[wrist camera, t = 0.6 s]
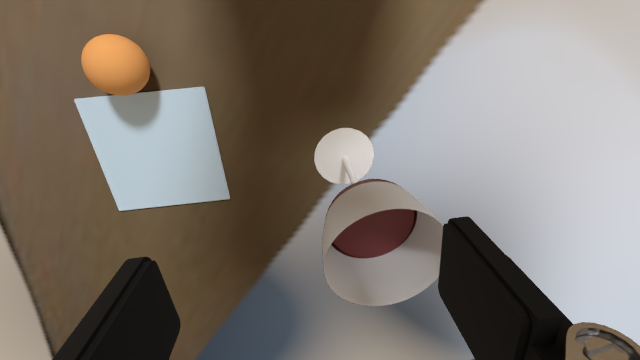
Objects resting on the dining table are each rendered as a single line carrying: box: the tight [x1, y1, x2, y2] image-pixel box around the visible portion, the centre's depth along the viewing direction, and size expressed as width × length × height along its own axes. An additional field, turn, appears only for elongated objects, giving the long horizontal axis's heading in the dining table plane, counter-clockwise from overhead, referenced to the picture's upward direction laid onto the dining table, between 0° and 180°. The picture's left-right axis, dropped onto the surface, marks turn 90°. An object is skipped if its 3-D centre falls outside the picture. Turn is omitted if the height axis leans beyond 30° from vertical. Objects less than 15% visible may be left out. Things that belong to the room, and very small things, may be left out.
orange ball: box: [81, 34, 150, 96], centre depth 31 cm, size 6×6×6 cm
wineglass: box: [314, 128, 443, 306], centre depth 30 cm, size 8×9×20 cm
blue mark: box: [74, 87, 230, 211], centre depth 37 cm, size 14×14×1 cm
